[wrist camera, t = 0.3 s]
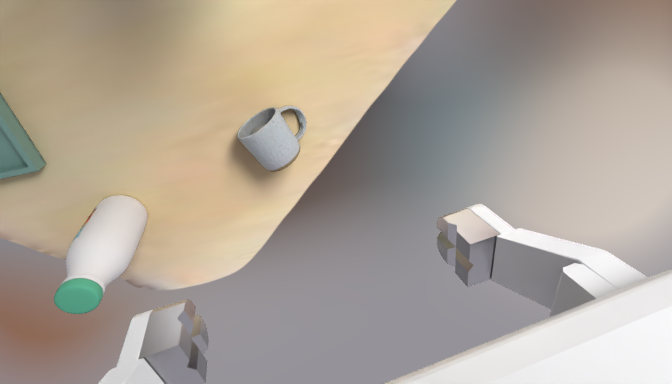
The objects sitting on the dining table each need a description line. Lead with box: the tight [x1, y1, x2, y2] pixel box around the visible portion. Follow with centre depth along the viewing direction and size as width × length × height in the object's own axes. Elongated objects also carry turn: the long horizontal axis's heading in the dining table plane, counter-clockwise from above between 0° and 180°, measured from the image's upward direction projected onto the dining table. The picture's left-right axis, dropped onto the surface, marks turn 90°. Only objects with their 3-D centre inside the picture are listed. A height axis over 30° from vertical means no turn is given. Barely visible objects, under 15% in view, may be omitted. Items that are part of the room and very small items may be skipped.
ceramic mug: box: [237, 106, 306, 172], centre depth 53 cm, size 11×8×8 cm
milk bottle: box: [54, 195, 148, 314], centre depth 47 cm, size 8×8×20 cm
